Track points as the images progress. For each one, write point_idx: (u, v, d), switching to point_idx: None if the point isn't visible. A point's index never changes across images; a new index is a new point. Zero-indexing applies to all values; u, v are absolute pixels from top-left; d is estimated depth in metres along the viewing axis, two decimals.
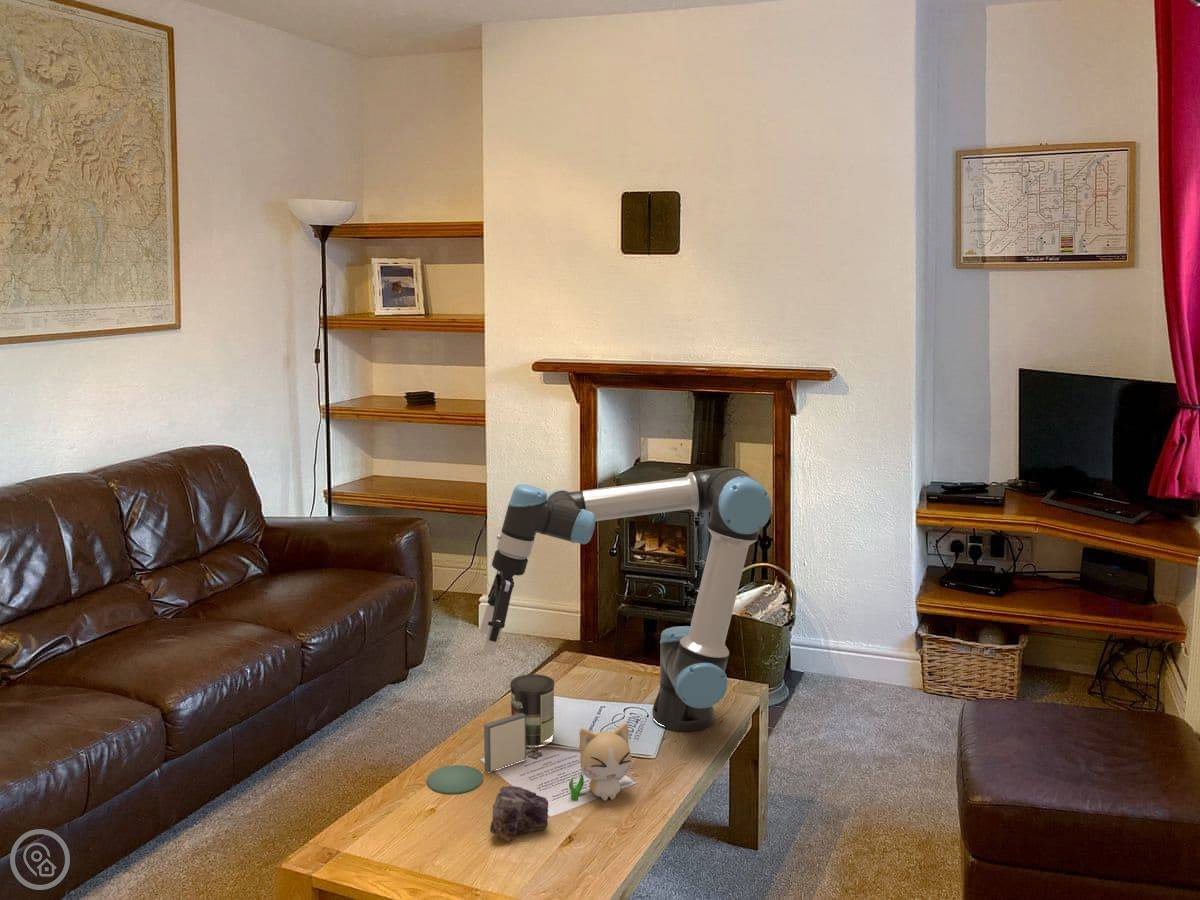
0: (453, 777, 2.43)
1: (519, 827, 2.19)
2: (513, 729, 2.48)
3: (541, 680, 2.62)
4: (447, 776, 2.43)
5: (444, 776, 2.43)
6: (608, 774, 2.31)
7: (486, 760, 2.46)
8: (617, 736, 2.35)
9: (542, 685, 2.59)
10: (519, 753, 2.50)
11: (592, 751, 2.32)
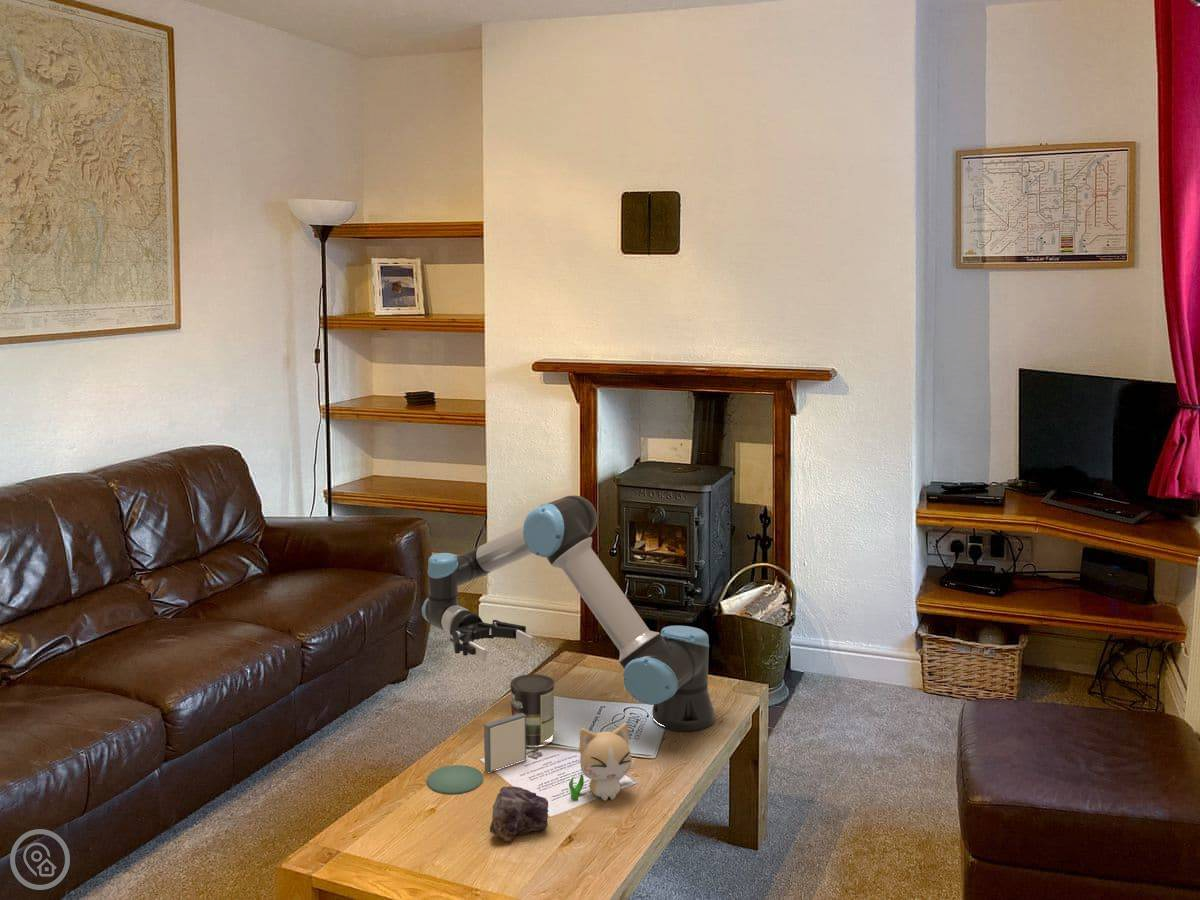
0: (453, 777, 2.43)
1: (519, 827, 2.19)
2: (513, 729, 2.48)
3: (541, 680, 2.62)
4: (447, 776, 2.43)
5: (444, 776, 2.43)
6: (608, 774, 2.31)
7: (486, 760, 2.46)
8: (617, 736, 2.35)
9: (542, 685, 2.59)
10: (519, 753, 2.50)
11: (592, 751, 2.32)
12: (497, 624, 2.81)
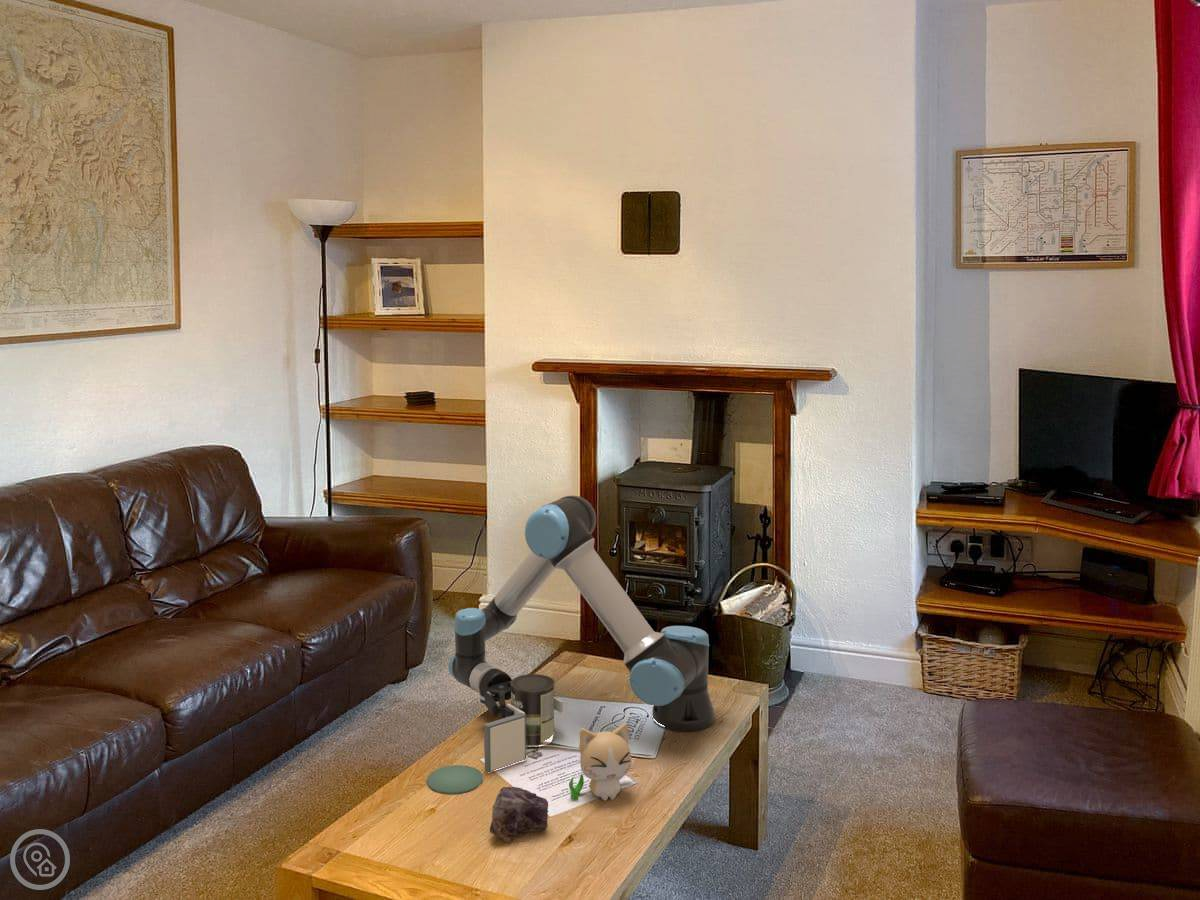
0: (453, 777, 2.43)
1: (519, 828, 2.19)
2: (513, 729, 2.48)
3: (541, 680, 2.62)
4: (447, 776, 2.43)
5: (444, 776, 2.43)
6: (608, 774, 2.31)
7: (486, 760, 2.46)
8: (617, 736, 2.35)
9: (542, 685, 2.59)
10: (519, 753, 2.50)
11: (592, 751, 2.32)
12: None
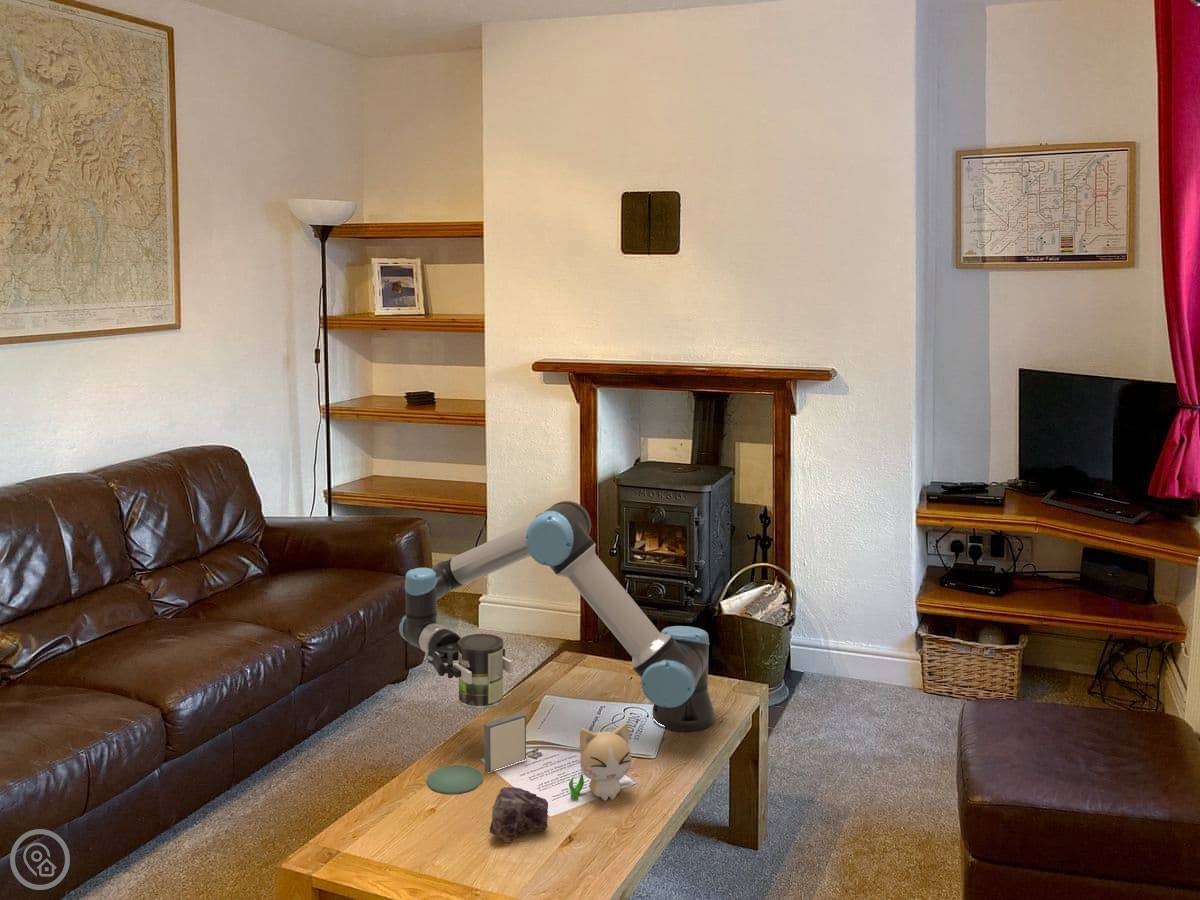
0: (453, 777, 2.43)
1: (519, 828, 2.19)
2: (513, 729, 2.48)
3: (490, 639, 2.54)
4: (447, 776, 2.43)
5: (444, 776, 2.43)
6: (608, 774, 2.31)
7: (486, 760, 2.46)
8: (617, 736, 2.35)
9: (490, 644, 2.51)
10: (519, 753, 2.50)
11: (592, 751, 2.32)
12: None
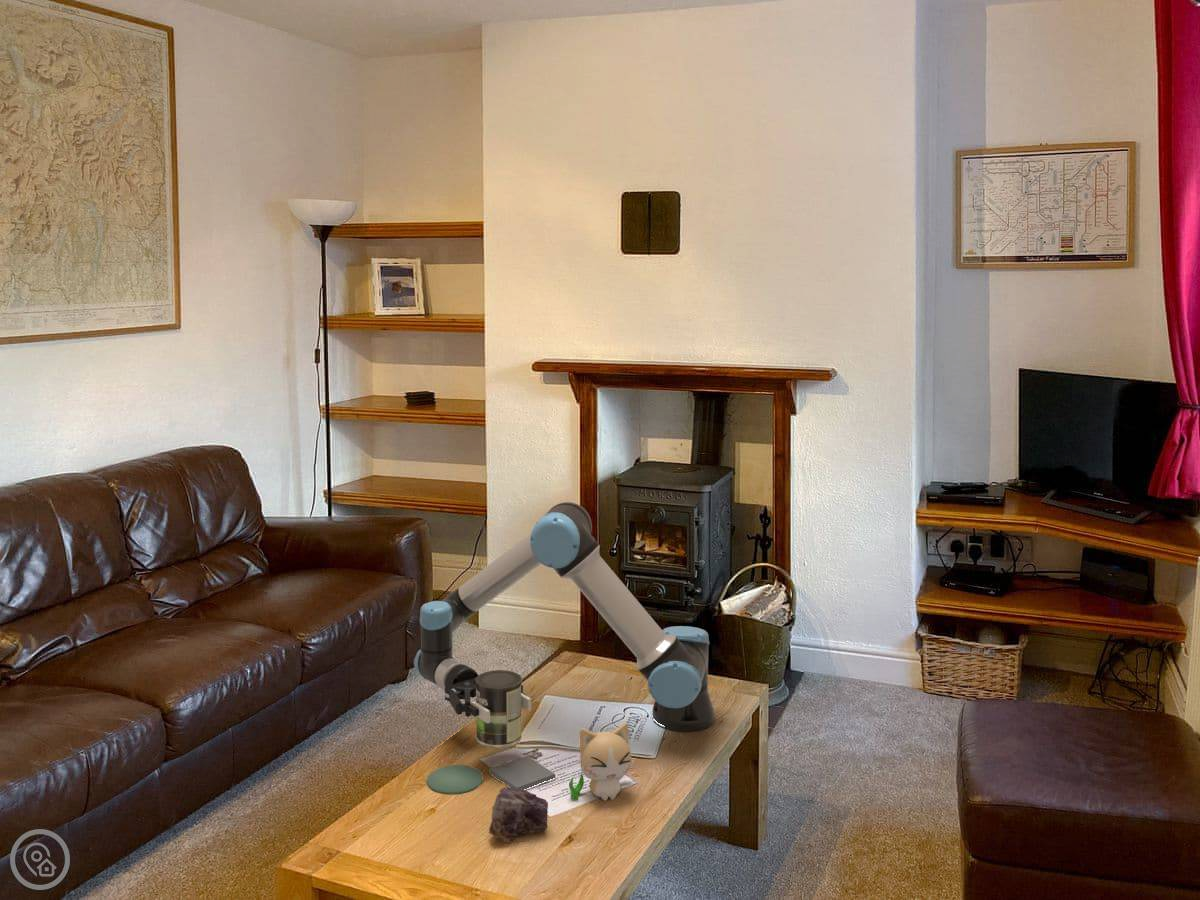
0: (453, 777, 2.43)
1: (518, 828, 2.19)
2: None
3: (508, 676, 2.49)
4: (447, 776, 2.43)
5: (444, 776, 2.43)
6: (608, 774, 2.31)
7: (495, 776, 2.44)
8: (617, 736, 2.35)
9: (509, 682, 2.46)
10: None
11: (592, 751, 2.32)
12: None
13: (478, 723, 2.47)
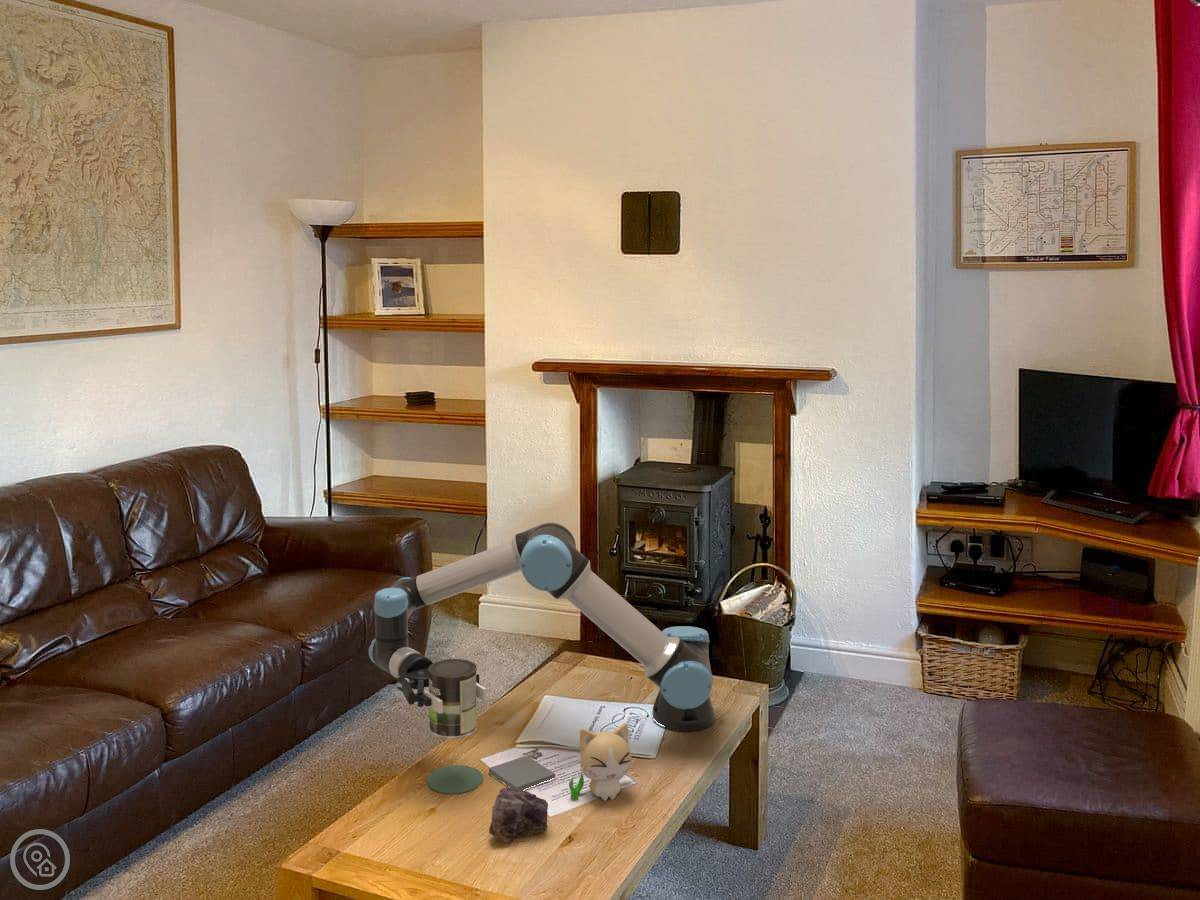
0: (453, 777, 2.43)
1: (518, 829, 2.19)
2: None
3: (463, 665, 2.39)
4: (447, 776, 2.43)
5: (444, 776, 2.43)
6: (608, 774, 2.31)
7: (495, 775, 2.44)
8: (617, 736, 2.35)
9: (463, 671, 2.36)
10: None
11: (592, 751, 2.32)
12: None
13: (431, 713, 2.37)
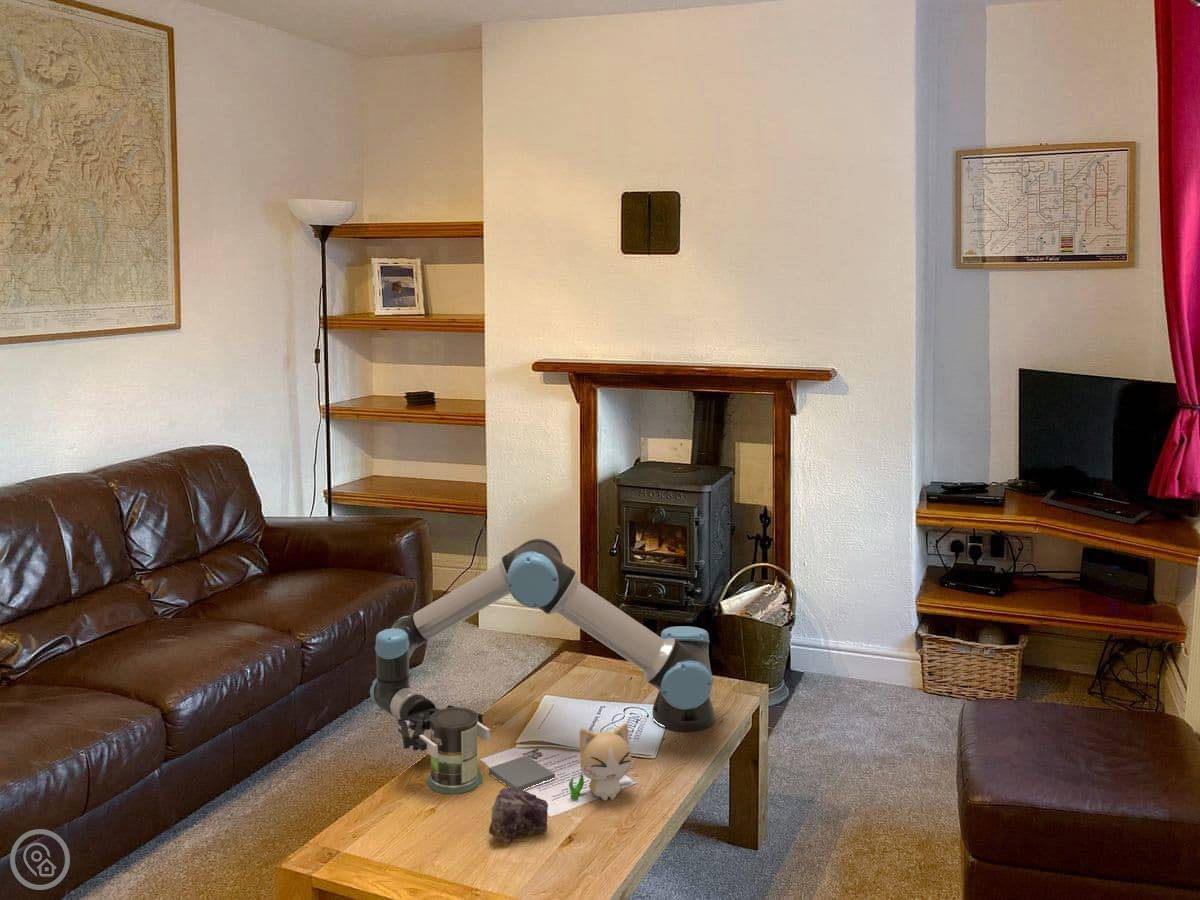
0: None
1: (518, 829, 2.19)
2: None
3: (464, 714, 2.42)
4: None
5: None
6: (608, 774, 2.31)
7: (495, 775, 2.44)
8: (617, 736, 2.35)
9: (464, 721, 2.38)
10: None
11: (592, 751, 2.32)
12: None
13: (432, 763, 2.39)
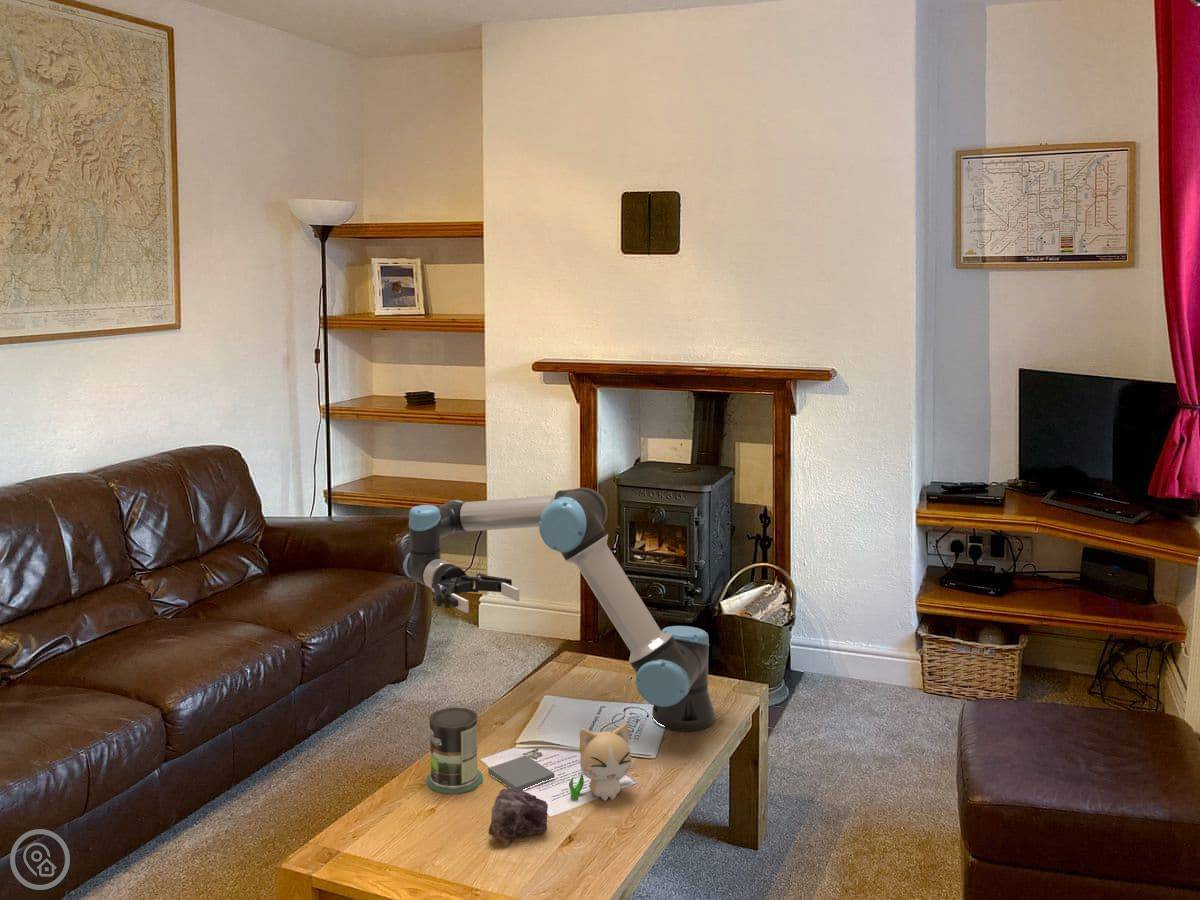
0: None
1: (518, 830, 2.18)
2: None
3: (464, 714, 2.42)
4: None
5: None
6: (608, 774, 2.31)
7: (495, 775, 2.44)
8: (617, 736, 2.35)
9: (464, 721, 2.38)
10: None
11: (592, 751, 2.32)
12: (482, 578, 2.67)
13: (432, 763, 2.39)
